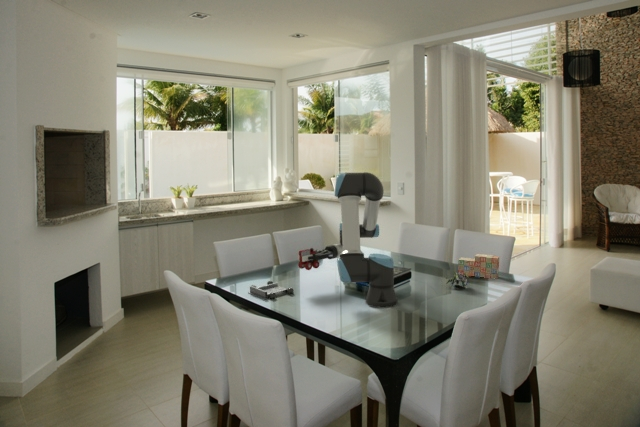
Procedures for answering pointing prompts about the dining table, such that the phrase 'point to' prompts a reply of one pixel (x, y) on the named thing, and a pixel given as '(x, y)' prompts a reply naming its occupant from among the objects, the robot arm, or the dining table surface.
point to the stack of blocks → (480, 266)
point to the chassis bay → (269, 290)
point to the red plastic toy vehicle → (310, 263)
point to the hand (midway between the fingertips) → (300, 258)
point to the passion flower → (458, 279)
